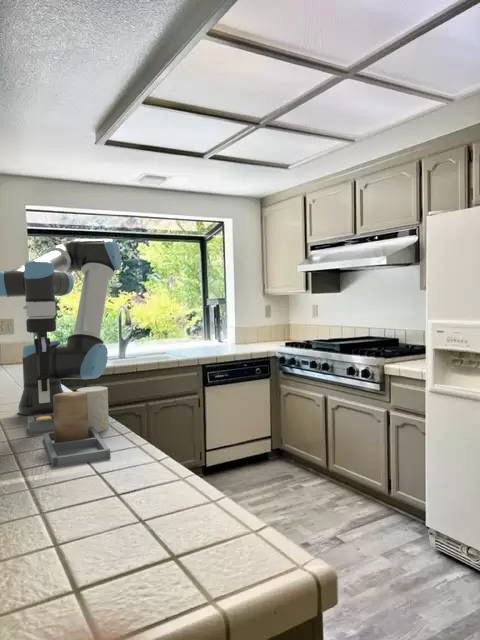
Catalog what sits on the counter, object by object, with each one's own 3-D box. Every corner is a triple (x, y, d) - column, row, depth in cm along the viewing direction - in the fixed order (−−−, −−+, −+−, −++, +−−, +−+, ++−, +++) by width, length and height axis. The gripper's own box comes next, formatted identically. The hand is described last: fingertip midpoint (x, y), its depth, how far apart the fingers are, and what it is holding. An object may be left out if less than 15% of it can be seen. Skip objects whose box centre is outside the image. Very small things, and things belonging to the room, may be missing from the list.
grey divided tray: (44, 443, 121) (43, 433, 121) (92, 436, 126) (92, 426, 126) (52, 470, 100) (52, 458, 100) (110, 461, 106) (110, 449, 106)
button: (36, 427, 133) (35, 417, 132) (51, 426, 134) (51, 415, 134) (37, 431, 129) (36, 420, 129) (52, 429, 131) (52, 418, 131)
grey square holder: (27, 430, 133) (27, 416, 133) (58, 427, 137) (57, 413, 137) (29, 437, 126) (29, 422, 126) (61, 433, 130) (61, 419, 130)
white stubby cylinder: (99, 436, 126) (98, 392, 126) (72, 435, 128) (70, 391, 127) (113, 428, 134) (112, 386, 134) (87, 427, 136) (86, 386, 135)
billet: (53, 440, 120) (51, 393, 120) (85, 436, 124) (84, 390, 123) (56, 449, 113) (54, 399, 113) (91, 444, 117) (89, 395, 116)
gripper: (25, 317, 135) (28, 399, 136) (27, 319, 123) (31, 408, 124) (53, 316, 138) (56, 396, 139) (58, 317, 127) (61, 405, 128)
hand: (44, 402), depth 132 cm, fingers closed
